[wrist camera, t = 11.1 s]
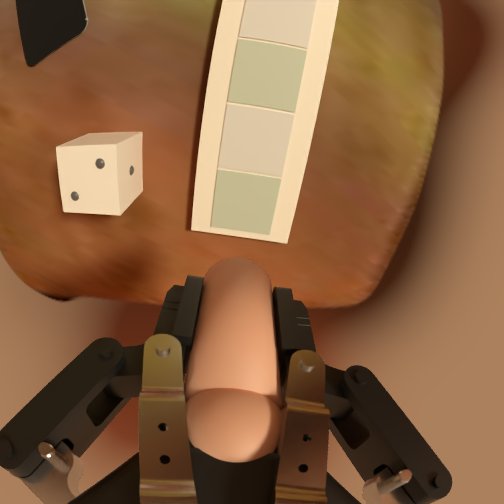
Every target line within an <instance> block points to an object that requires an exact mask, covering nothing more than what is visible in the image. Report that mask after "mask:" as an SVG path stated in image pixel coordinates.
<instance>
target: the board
mask: <svg viewBox="0 0 504 504" xmlns="http://www.w3.org/2000/svg"><path fill="white" fill-rule="evenodd" d="M338 3H339V0H223V2H222V6H221V11H220V16H219V21H218V26H217V31H216V37H215V42H214V48H213V53H212V59H211V65H210V71H209V77H208V84H207V90H206V97H205V104H204V111H203V119H202V126H201V134H200V143H199V151H198V160H197V169H196V179H195V190H194V201H193V213H192V226H191V230H195V231H202V232H209V233H216V234H224V235H231V236H238V237H245V238H252V239H259V240H266V241H273V242H280V243H286V244H287V241H288V237H289V233H290V229H291V225H292V221H293V217H294V213H295V209H296V205H297V201H298V197H299V192H300V188H301V184H302V180H303V175H304V171H305V167H306V162H307V158H308V153H309V149H310V144H311V140H312V135H313V131H314V126H315V122H316V117H317V112H318V107H319V103H320V98H321V93H322V88H323V83H324V78H325V73H326V68H327V63H328V58H329V53H330V47H331V42H332V37H333V31H334V26H335V20H336V14H337V9H338Z"/></svg>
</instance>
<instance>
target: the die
mask: <svg viewBox="0 0 504 504" xmlns="http://www.w3.org/2000/svg"><path fill="white" fill-rule="evenodd" d="M56 153H57V165H58V175H59V183H60V191H61V198H62V205H63V212H72V213H89V214H106V215H121V214H122V213H123V212H124V211H125V210H126V209H127V208H128V206H129V205H130V204H131V203H132V202H133V201H134V200H135V199H136V198H137V197H138V196H139V194H140V193H141V192H142V191H143V178H142V132H110V133H89V134H86V135H84V136H81V137H79V138H76V139H74V140H71V141H69V142H67V143H64V144H62V145H60V146H57V147H56Z"/></svg>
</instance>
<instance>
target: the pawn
mask: <svg viewBox="0 0 504 504" xmlns="http://www.w3.org/2000/svg"><path fill="white" fill-rule="evenodd" d="M184 394H185V405H186V417H187V428H188V437H189V440H190V441H191V443H192V445H193V446H194V447H195V448H199V449H200V450H202V451H203V452H205V453H207V454H209V455H211V456H213V457H214V458H217V459H220V460H223V461H227V462H248V461H253V460H255V459H258V458H260V457H263V456H265V455H267V454H269V453H273V452H274V451H275V449H276V448H277V446H278V445H279V438H280V430H281V420H282V413H281V407H282V396H281V384H280V372H279V360H278V350H277V338H276V327H275V316H274V306H273V295H272V284H271V279H270V276H269V274H268V273H267V271H266V270H265V269H264V268H263V267H262V266H261V265H259V264H258V263H256V262H254V261H252V260H249V259H245V258H228V259H224V260H221V261H219V262H217V263H215V264H214V265H213V266H212V267H210V268H209V270H208V271H207V273H206V274H205V277H204V284H203V290H202V295H201V300H200V305H199V310H198V316H197V321H196V326H195V332H194V337H193V343H192V349H191V351H190V355H189V360H188V366H187V372H186V378H185V384H184Z"/></svg>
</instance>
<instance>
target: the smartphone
mask: <svg viewBox="0 0 504 504" xmlns="http://www.w3.org/2000/svg"><path fill="white" fill-rule="evenodd" d="M16 5H17V13H18V20H19V27H20V33H21V39H22V44H23V49H24V54H25V59H26V62H27V64H28V65H29V66H35V65H37V64H38V63H39V62H41V61H42V60H43V59H45V58H46V57H48V56H49V55H50V54H52V53H53V52H54V51H56V50H57V49H59V48H60V47H62V46H63V45H65V44H66V43H68V42H70V41H71V40H73V39H74V38H76V37H77V36H79V35H81V34H82V33H83V32H84V31H85V29H86V27H87V25H88V17H87V13H86V8H85V4H84V0H16Z"/></svg>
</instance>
